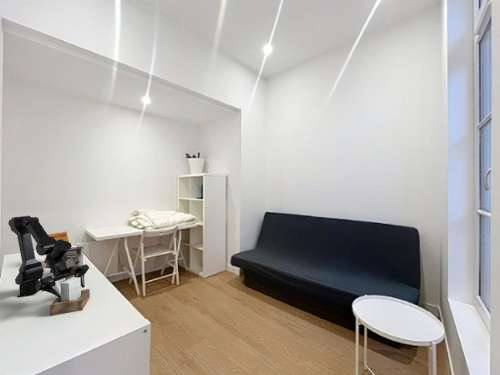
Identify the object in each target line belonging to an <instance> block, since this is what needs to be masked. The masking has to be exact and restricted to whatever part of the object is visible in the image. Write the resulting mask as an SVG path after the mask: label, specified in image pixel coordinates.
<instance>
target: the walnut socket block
mask: <svg viewBox="0 0 500 375" xmlns="http://www.w3.org/2000/svg"><path fill="white" fill-rule="evenodd" d="M90 290H91V289H90V288H86V289H81V297H80V298H79V299H76V300H70V301H64V302H61V297H60V298H59V297H57V296H56V298H55V299H54V300H53V301H52V303H51V304H49V317H53V316H58V315H64V314H68V313H74V312H75V313H76V312H80V311H83V310H84V308H85V306H86V305H87V303H88V302H89V300H90V299H91V298H90V297H91V296H90Z"/></svg>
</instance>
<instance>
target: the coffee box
mask: <svg viewBox="0 0 500 375" xmlns="http://www.w3.org/2000/svg"><path fill="white" fill-rule="evenodd" d="M74 257H78V259H79V261H80V263H78V264H76V265H77V266H74V267H73V270H71V272H72V271H75V270H76V269H77V267H79V266H82V265H84V246H83V245H82V246H73V247H71V248H70V250H69V251H68V253H67V254H66V256H65V257H63V258H64V260H65V261H69V260H71V259H72V258H74Z"/></svg>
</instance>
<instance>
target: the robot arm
mask: <svg viewBox="0 0 500 375" xmlns="http://www.w3.org/2000/svg"><path fill="white" fill-rule="evenodd" d="M7 224H8V226H9V227H10V230H11V232H13V233H14V234H15V235H16V237H17V243H18V247H19V253H20V258H21V265H20V266H19V268H18V274H17V276H16V278H15V279H14V282H15V285H18V286H19V294H18V295H17V298H20V297H21V298H22V297H29V296H34V295H36V294H37V293H38V292H40V291H41V292H46V293H49V294H51V295H54V296H55V297H56V298H57V297H59V298H60V297H61V296H62V295H61V290H59V288H58V287H57V285H56V284H57V283H56V282H58V281H61V280H65V278H67V277H70V276H73V275H74V276H75V277H77V278H80V279H81V289H84V288H85V275H86V273H87V272H88V271H89V269H90V266H89V265H88V264H83V265H82V266H79V267H77V269H76V270H75V271H72V272H71V270H73V267H74V266H77V265H76V264H78V263H80V261H79V259H78V257H74V258H72V259H71V260H69V261H65V260H64V258H63V257H65V256H66V254H67V253H68V251H69V250H70V248H72V246H73V245H72V243H71V242H70V241H69V242H67V241H63V239H60V240H57V241H56V240H55V239H54V238H52V237H49V236H48V233H47V232H46V230H45V228H44V227H43V225H42V224H41V222H40V219H39V217H38V216H37V217H36V216H30V215H23V216H14V217H11V219H9V220H8V223H7ZM33 239H34V242H35V243H36V245H35V250H36V253H37V255H39V256H40V257H41V256H45V258H44V261H43V262H44V264H46V263H47V264H48V266H49V269H50V270H49V273H50V274H52V275H53V276H52V275H47V276H44V273H45V272H44V271H45V269H44V266H43V264H42V262H41V261H38V260H37V259H36V255H35V250H34V243H33ZM47 254H49V255H48V256H47V257H46V255H47ZM48 266H47V267H48ZM43 276H44V277H43Z"/></svg>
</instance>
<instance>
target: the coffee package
mask: <svg viewBox="0 0 500 375" xmlns="http://www.w3.org/2000/svg"><path fill="white" fill-rule="evenodd" d="M47 234H48V233H47ZM48 236H49V237H52V238H54V239H55V240H56V241H57V240H60V239H63V241H67V242H69V243H70V240H69V237H68V236H69V235H68V231H63V232H56V233H50V234H48ZM48 255H49V254H47V255H45V258H46V257H47V256H48ZM45 264H46V267H49V266H48V264H47V263H45ZM49 268H50V267H49Z"/></svg>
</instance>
